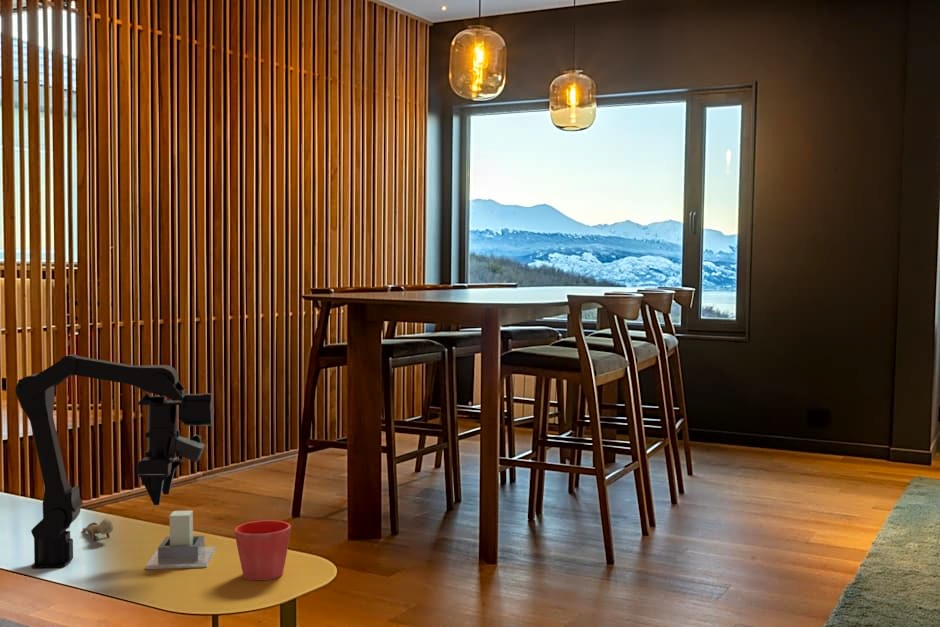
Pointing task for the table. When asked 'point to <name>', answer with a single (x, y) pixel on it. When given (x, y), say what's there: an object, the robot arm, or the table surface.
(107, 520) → the figurine
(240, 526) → the flower pot
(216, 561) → the table surface
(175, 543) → the rail post
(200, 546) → the bracket
